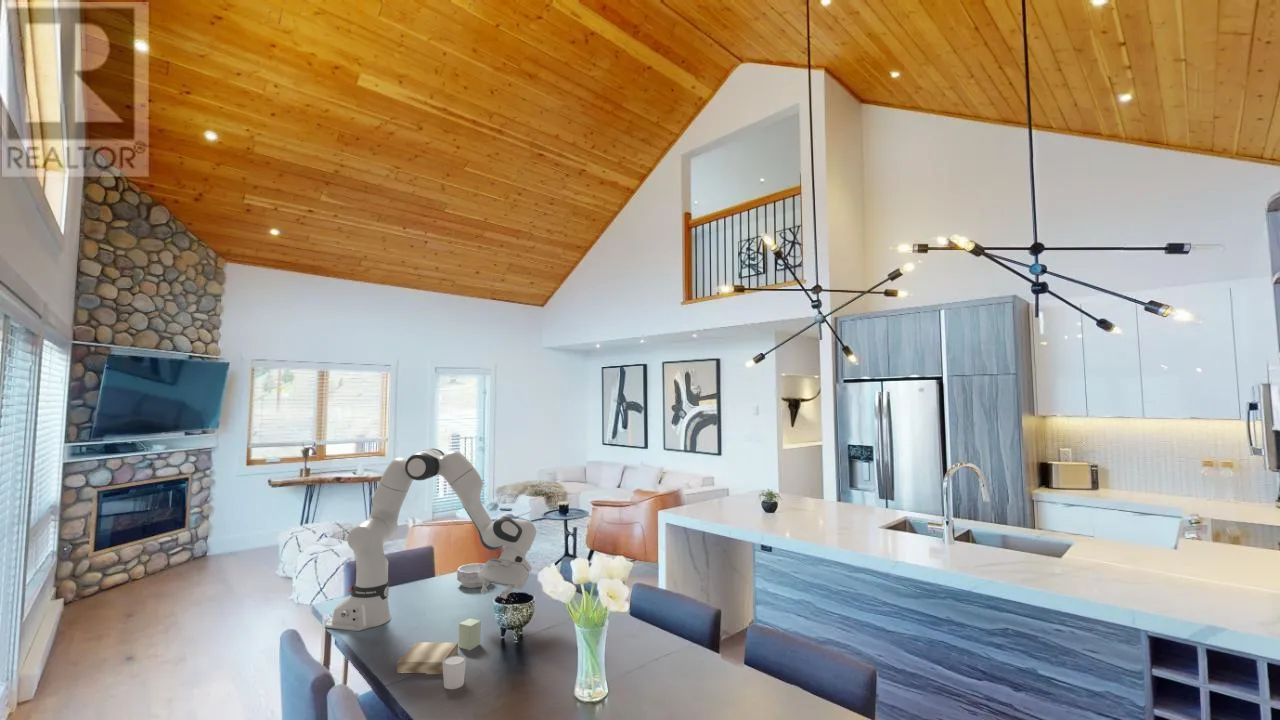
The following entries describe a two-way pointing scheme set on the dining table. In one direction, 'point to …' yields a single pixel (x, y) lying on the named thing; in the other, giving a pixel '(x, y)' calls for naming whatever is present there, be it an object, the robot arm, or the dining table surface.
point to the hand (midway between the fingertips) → (492, 595)
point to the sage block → (469, 634)
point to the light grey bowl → (470, 575)
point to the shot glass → (454, 671)
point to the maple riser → (426, 657)
